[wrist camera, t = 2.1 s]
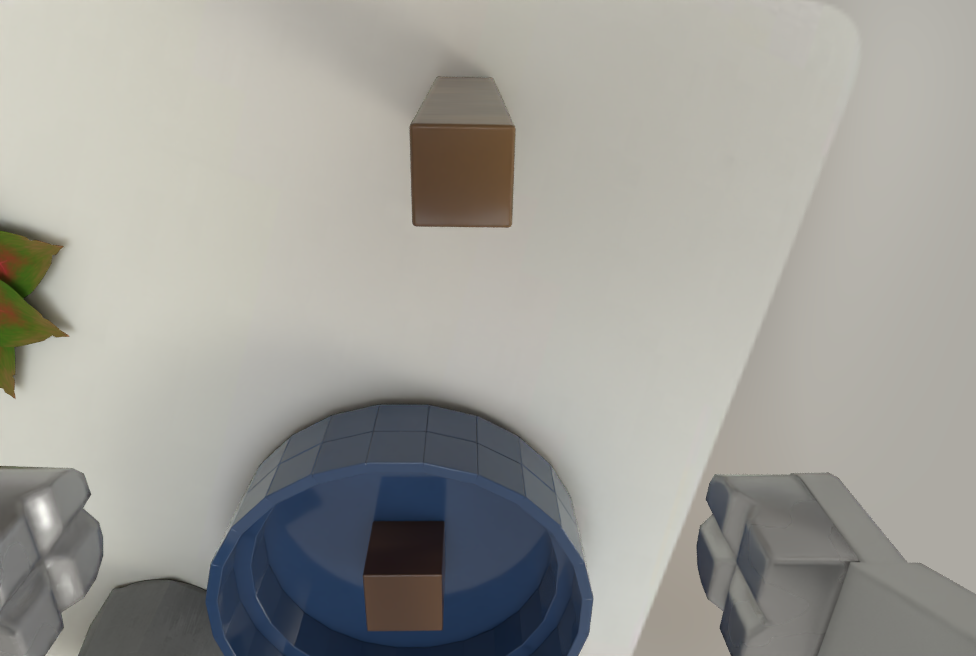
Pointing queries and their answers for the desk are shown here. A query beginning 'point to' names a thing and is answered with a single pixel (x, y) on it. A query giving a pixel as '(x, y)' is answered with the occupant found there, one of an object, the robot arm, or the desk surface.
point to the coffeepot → (152, 622)
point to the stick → (462, 156)
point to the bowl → (401, 497)
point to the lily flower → (21, 299)
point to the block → (405, 576)
